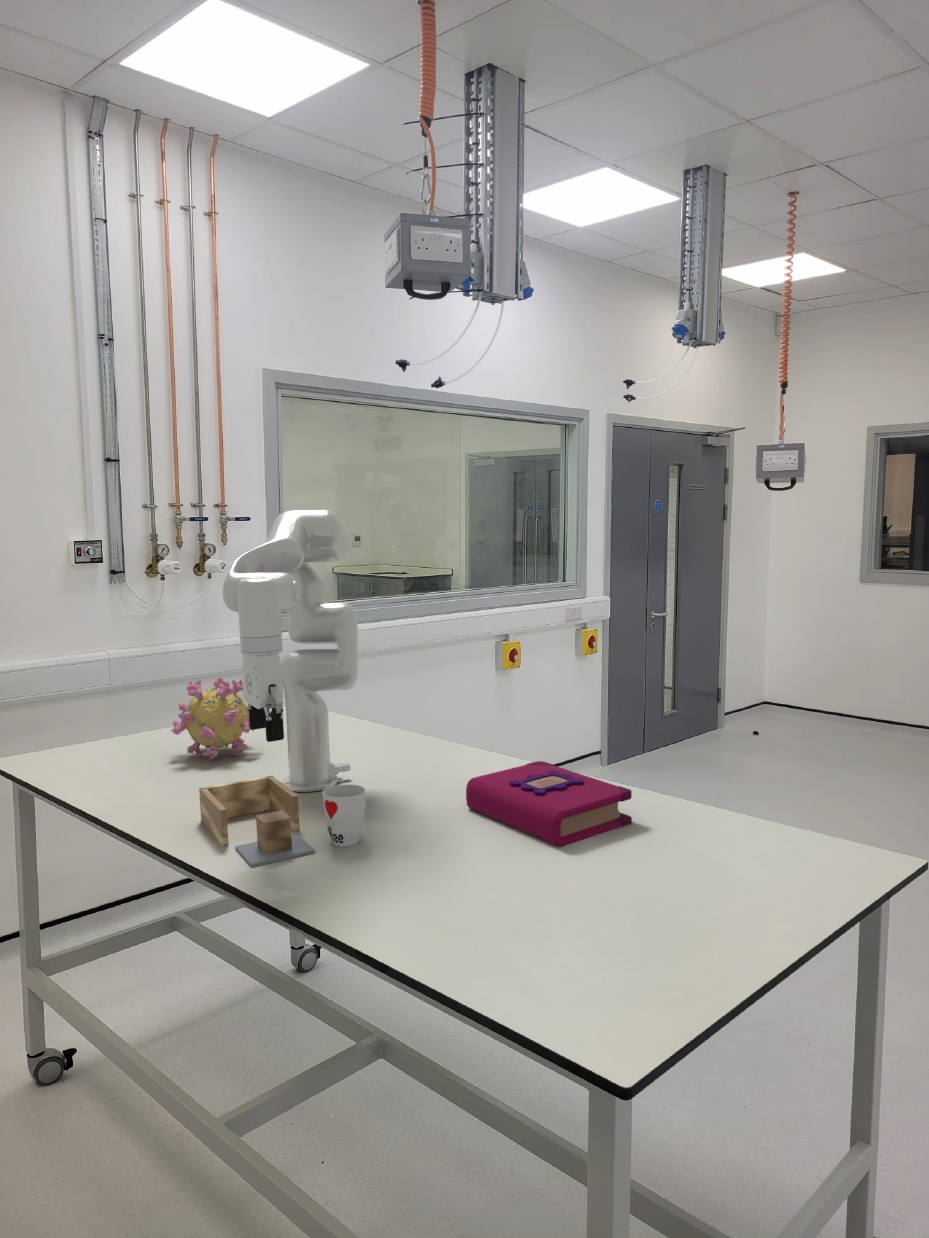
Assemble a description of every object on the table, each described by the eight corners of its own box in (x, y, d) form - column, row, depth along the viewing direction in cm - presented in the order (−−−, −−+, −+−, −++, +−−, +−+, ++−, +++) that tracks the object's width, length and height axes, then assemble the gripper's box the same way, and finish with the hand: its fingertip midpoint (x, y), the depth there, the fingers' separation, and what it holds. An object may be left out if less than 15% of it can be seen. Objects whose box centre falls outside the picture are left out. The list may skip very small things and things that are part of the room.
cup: (319, 838, 168) (317, 788, 167) (359, 831, 172) (357, 781, 170) (331, 852, 161) (329, 800, 160) (373, 844, 164) (371, 793, 163)
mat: (296, 836, 170) (296, 833, 170) (315, 852, 161) (314, 849, 161) (235, 849, 164) (235, 846, 163) (251, 867, 155) (251, 863, 155)
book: (556, 850, 161) (556, 811, 160) (466, 811, 183) (465, 776, 182) (634, 824, 173) (634, 787, 172) (541, 790, 195) (540, 757, 194)
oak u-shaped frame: (273, 806, 187) (272, 775, 186) (299, 829, 173) (298, 795, 172) (201, 821, 179) (199, 788, 178) (222, 845, 165) (220, 810, 164)
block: (283, 840, 166) (281, 810, 165) (292, 849, 161) (290, 818, 161) (257, 846, 163) (255, 815, 162) (265, 854, 159) (264, 823, 158)
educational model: (155, 763, 222) (150, 687, 220) (205, 741, 243) (201, 671, 241) (235, 769, 215) (231, 691, 213) (279, 746, 237) (276, 674, 234)
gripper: (227, 640, 166) (233, 727, 168) (256, 653, 151) (261, 749, 154) (266, 636, 170) (270, 721, 172) (297, 648, 155) (302, 741, 157)
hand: (266, 734), depth 163 cm, fingers open, 9 cm apart
